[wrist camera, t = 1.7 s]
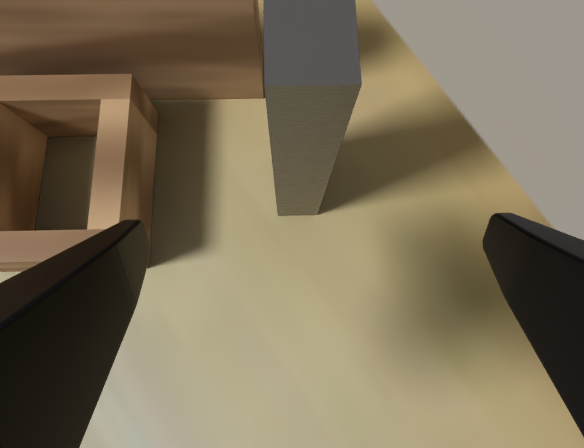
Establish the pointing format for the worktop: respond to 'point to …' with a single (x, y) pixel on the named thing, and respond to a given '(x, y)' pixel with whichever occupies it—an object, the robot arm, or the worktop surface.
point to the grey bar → (308, 94)
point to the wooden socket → (107, 98)
